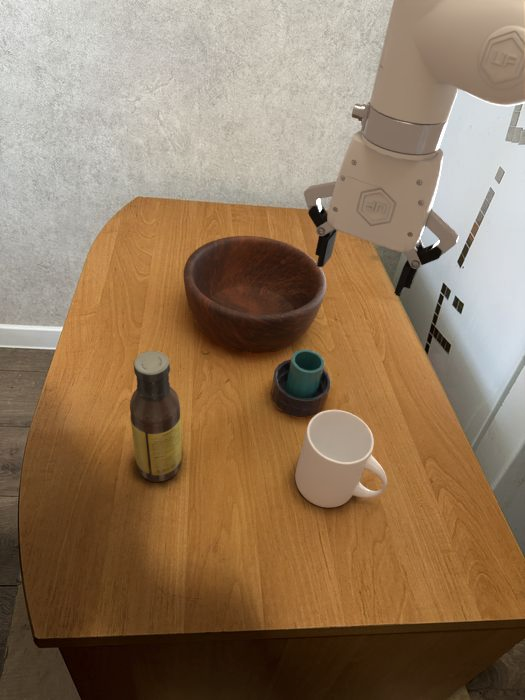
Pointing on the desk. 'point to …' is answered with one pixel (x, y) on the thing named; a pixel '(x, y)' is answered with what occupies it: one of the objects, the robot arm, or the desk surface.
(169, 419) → the sauce bottle
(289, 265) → the wooden bowl
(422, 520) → the desk surface
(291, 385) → the cup
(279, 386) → the bowl
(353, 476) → the mug
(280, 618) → the desk surface
